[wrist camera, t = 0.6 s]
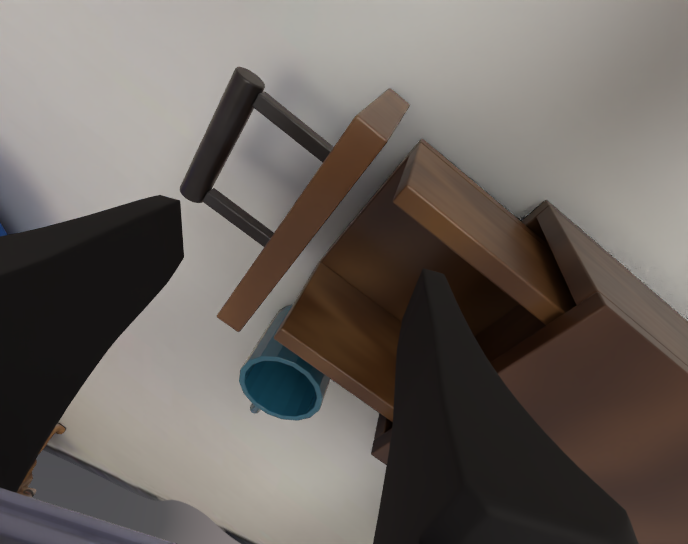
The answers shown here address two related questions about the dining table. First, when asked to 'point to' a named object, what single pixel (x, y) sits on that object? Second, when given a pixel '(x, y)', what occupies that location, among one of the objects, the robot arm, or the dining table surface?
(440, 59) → the dining table surface
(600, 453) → the cabinet
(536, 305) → the drawer
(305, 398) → the blue mug
